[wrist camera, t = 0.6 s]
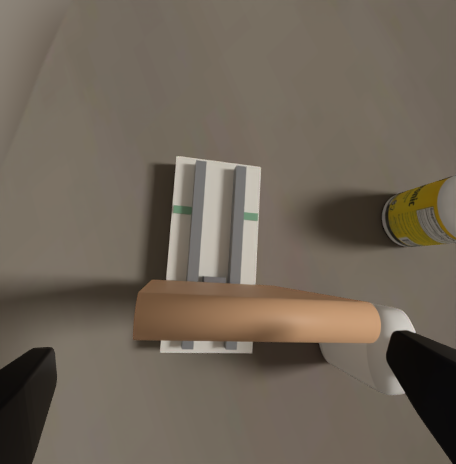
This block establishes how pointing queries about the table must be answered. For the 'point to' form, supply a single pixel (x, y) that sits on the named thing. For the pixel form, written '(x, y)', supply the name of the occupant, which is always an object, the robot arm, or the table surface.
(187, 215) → the white base with rails
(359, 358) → the eye dropper bottle
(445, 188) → the supplement bottle
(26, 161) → the table surface
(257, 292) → the fader paddle
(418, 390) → the robot arm
